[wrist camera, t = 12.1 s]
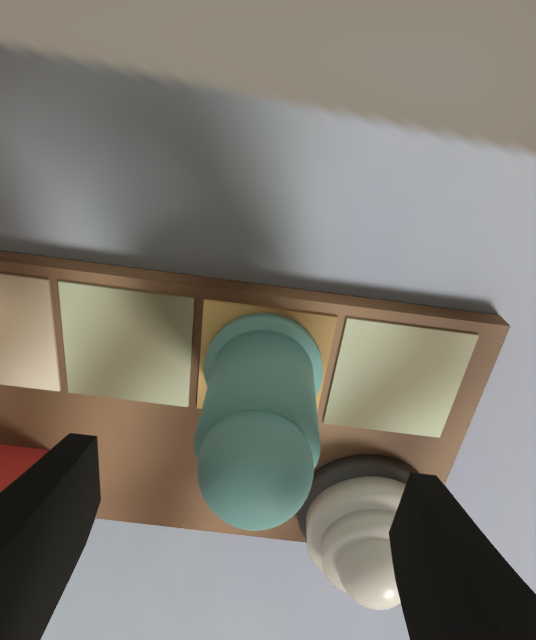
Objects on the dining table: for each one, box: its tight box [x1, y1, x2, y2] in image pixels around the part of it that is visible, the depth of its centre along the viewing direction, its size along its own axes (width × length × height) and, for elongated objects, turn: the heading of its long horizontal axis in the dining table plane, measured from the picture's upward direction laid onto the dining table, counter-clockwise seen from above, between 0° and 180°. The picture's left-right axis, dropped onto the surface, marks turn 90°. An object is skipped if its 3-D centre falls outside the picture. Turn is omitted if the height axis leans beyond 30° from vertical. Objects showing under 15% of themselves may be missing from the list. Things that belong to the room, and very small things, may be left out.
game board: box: [0, 251, 510, 542], centre depth 16 cm, size 20×11×2 cm, turn 83°
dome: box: [306, 476, 406, 610], centre depth 16 cm, size 5×5×3 cm
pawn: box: [194, 313, 323, 531], centre depth 12 cm, size 4×4×6 cm
